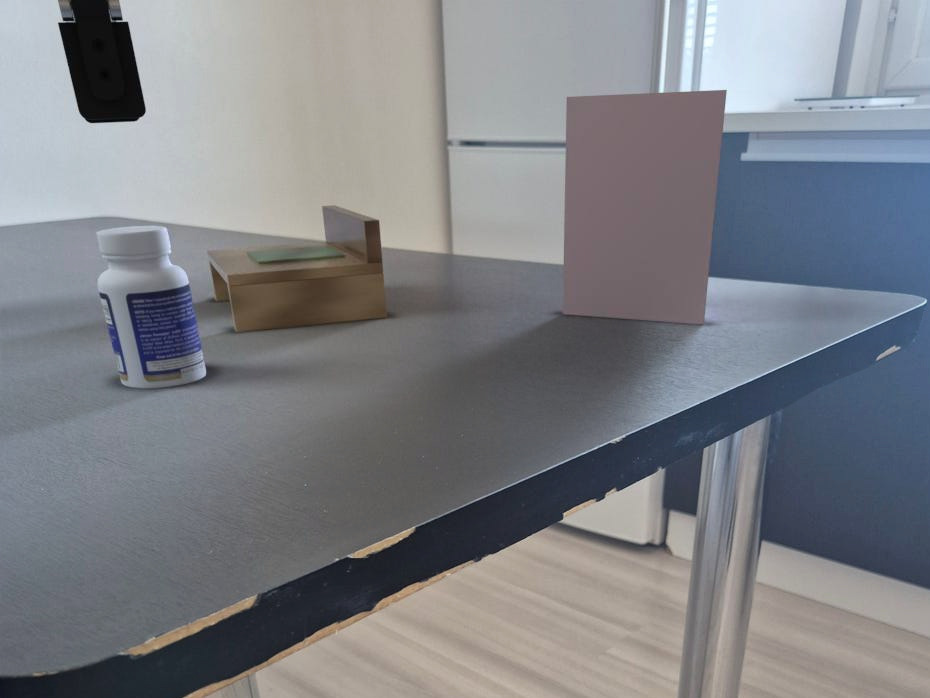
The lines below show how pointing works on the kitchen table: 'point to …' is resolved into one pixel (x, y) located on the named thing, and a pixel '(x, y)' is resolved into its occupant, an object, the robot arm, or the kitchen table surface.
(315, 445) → the kitchen table surface
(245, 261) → the shelf
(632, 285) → the greeting card
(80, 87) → the robot arm
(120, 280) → the pill bottle
